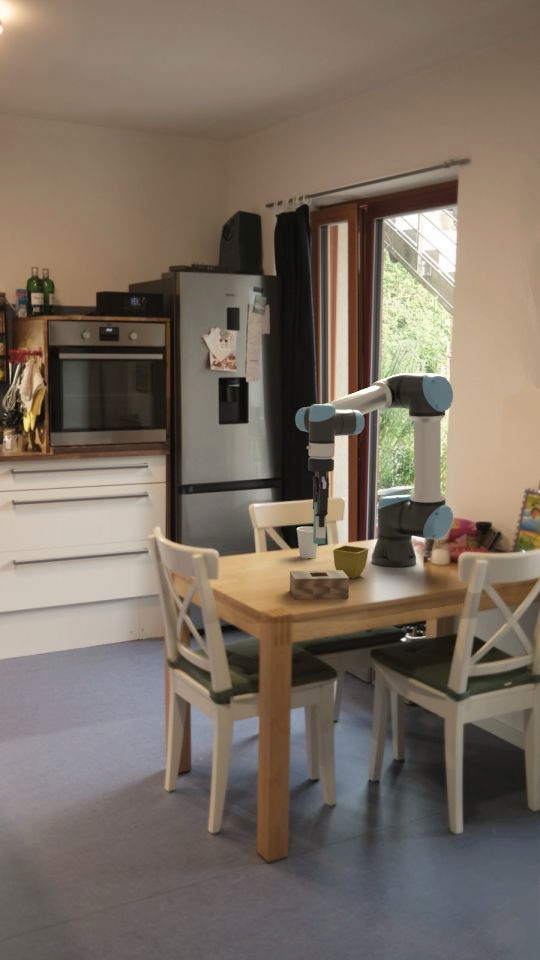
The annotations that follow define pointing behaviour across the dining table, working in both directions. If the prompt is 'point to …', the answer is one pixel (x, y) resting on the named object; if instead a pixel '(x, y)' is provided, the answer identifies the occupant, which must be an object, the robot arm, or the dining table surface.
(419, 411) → the robot arm
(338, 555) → the flower pot
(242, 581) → the dining table surface
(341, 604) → the dining table surface
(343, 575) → the block
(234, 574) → the dining table surface
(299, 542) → the dixie cup
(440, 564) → the dining table surface
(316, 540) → the pin
